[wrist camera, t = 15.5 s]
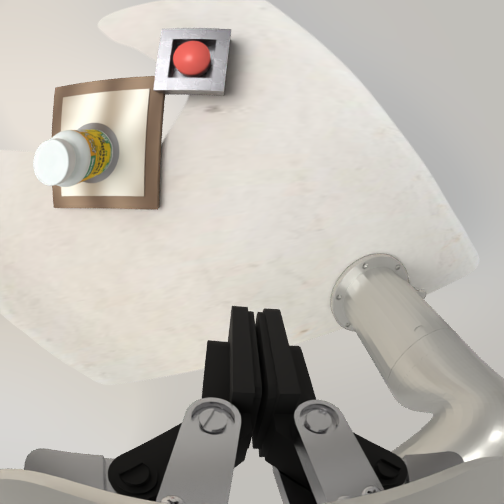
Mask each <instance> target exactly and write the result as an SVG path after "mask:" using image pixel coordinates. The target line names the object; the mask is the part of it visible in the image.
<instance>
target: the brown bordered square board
mask: <svg viewBox="0 0 504 504" xmlns="http://www.w3.org/2000/svg"><path fill="white" fill-rule="evenodd" d="M154 81H155V76H148V77H147V76H146V77H130V78H118V79H108V80H100V81H92V82H85V83H79V84H73V85H67V86H62V87H57V88H55V95H54V106H53V122H52V137H53V136H54V135H56V134H57V133H59V132H62V131H65V130H91V129H95V130H100V131H102V132H104V133H105V134H106V135H107V136H108V137H109V139H110V141H111V143H112V146H113V157H112V161H111V163H110V165H109V166H108V168H107V169H106V170H105V171H104V172H103V173H101V174H100V175H97V176H95V177H93V178H90V179H88V180H85V181H83V182H80V183H78V184H76V185H73V186H70V187H60V186H57V185H54V186H52V188H53V203H54V208H124V209H158V208H159V190H160V158H161V138H162V124H163V112H164V100H165V94H164V93H157V92H156V91H154Z"/></svg>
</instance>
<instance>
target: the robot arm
mask: <svg viewBox="0 0 504 504" xmlns="http://www.w3.org/2000/svg"><path fill="white" fill-rule="evenodd" d="M425 297H426V292H425V290H415V289H414V288H413V287H412V286H411V285H410V284H409V279H408V274H407V271H406V269H405V267H404V266H403V264H402V263H401V262H399V261H398V260H397V259H396V258H394V257H392V256H390V255H387V254H373V255H369V256H366V257H363V258H361V259H359V260H358V261H356V262H354V263H353V264H352V265H350V266H349V267H348V268H347V269H346V270H345V271H344V272H343V273H342V275H341V276H340V277H339V279H338V280H337V282H336V284H335V286H334V288H333V291H332V295H331V310H332V313H333V316H334V317H335V319H336V321H337V322H338V323H339V324H340V326H342V327H343V328H345V329H347V330H350V331H355V332H356V333H357V335H358V336H359V338H360V340H361V341H362V343H363V345H364V346H365V348H366V350H367V351H368V353H369V355H370V357H371V358H372V360H373V361H374V363H375V365H376V367H377V369H378V370H379V372H380V373H381V376H382V377H383V379H384V381H385V383H386V384H387V386H388V388H389V389H390V391H391V393H392V395H393V396H394V398H395V399H396V400H397V401H398V402H399V403H400V404H401V405H402V406H404V407H405V408H408V409H410V410H414V411H419V412H426V413H433V418H432V419H431V420H430V421H429V422H428V423H427V424H426V425H425V426H424V427H423V428H422V429H421V430H420V431H419V432H418V433H416V434H415V435H413V436H412V437H411V438H410V439H408V440H407V441H406V442H404V443H403V444H401V445H400V446H399V447H397V448H396V449H395V450H393V451H392V452H390V451H388V450H386V449H384V448H382V447H380V446H378V445H376V444H374V443H372V442H370V441H368V440H366V439H364V438H363V437H361V436H359V435H357V434H355V433H353V432H352V430H351V428H350V427H349V425H348V423H347V421H346V419H345V417H344V415H343V414H342V412H341V411H340V410H339V408H337V407H336V406H335V405H333V404H331V403H329V402H326V401H322V400H316V397H315V394H314V391H313V387H312V384H311V380H310V377H309V374H308V370H307V367H306V363H305V360H304V357H303V353H302V350H301V348H300V347H299V346H289V343H288V339H287V335H286V332H285V328H284V324H283V320H282V316H281V312H280V310H279V309H264V310H263V312H258V313H257V318H256V324H255V321H254V312H251V311H248V307H239V306H232V310H231V319H230V328H229V337H228V342H220V341H210V340H208V342H207V351H206V360H205V371H204V380H203V391H202V399H200V400H197V401H195V402H194V403H192V404H191V405H190V406H189V407H188V409H187V411H186V413H185V416H184V419H183V422H182V423H181V424H179V425H177V426H175V427H174V428H172V429H170V430H168V431H166V432H165V433H163V434H161V435H159V436H157V437H155V438H154V439H152V440H150V441H148V442H146V443H144V444H142V445H140V446H138V447H136V448H134V449H132V450H130V451H128V452H126V453H124V454H122V455H120V456H118V457H117V458H115V459H109V458H104V457H103V456H102V455H90V454H79V453H71V452H63V451H57V450H51V449H36V450H33V451H32V452H31V453H30V454H29V455H28V456H27V458H26V461H25V467H24V470H22V469H0V504H228V499H229V493H230V487H231V482H232V475H233V469H234V468H235V467H236V466H238V465H239V464H240V463H241V462H243V461H244V460H245V456H246V452H247V448H249V445H250V441H251V437H252V443H253V448H254V449H259V457H265V460H266V461H267V462H268V463H270V464H271V465H273V473H274V476H275V479H276V483H277V485H278V489H279V492H280V495H281V498H282V501H283V504H504V379H503V378H502V377H501V376H500V375H499V374H497V373H496V372H495V371H494V370H493V369H491V368H490V367H489V366H488V365H487V364H486V363H485V362H484V361H483V360H482V359H481V358H480V357H479V356H478V355H477V354H476V353H475V352H474V351H473V350H472V349H471V348H470V347H469V346H468V345H467V344H466V343H465V342H464V341H463V340H462V339H461V338H460V336H459V335H458V334H457V333H456V332H455V331H454V330H453V329H452V328H451V327H450V326H449V325H448V324H447V323H446V322H445V321H444V320H443V319H442V318H441V317H440V316H439V315H438V314H437V313H436V312H435V311H434V310H433V309H432V308H431V307H430V306H429V305H428V304H427V303H426V302H425V301H424V300H423V299H424V298H425Z"/></svg>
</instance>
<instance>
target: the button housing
mask: <svg viewBox="0 0 504 504" xmlns="http://www.w3.org/2000/svg"><path fill="white" fill-rule="evenodd" d="M230 37H231V29H212V28H172V29H162V32H161V38H160V44H159V51H158V58H157V65H156V73H155V81H154V91H156V92H157V93H164V94H190V95H218V96H224V90H225V81H226V72H227V63H228V54H229V46H230ZM188 41H199V42H201V43H203V44H205V45H206V46H207V48H208V49H209V52H210V57H211V65H210V68H209V69H208V71H207V72H206V73H205V74H203V75H201V76H199V77H195V78H189V77H186V76H184V75H182V74H181V73H180V72H179V71H178V69H177V68H176V66H175V65H174V62H173V55H174V52H175V50H176V49H177V48H178V47H179V46H180V45H181V44H183V43H185V42H188Z"/></svg>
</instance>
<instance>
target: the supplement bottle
mask: <svg viewBox="0 0 504 504" xmlns="http://www.w3.org/2000/svg"><path fill="white" fill-rule="evenodd" d="M112 157H113V146H112V143H111V141H110V139H109V137H108V136H107V135H106V134H105V133H104V132H102V131H100V130H95V129H91V130H65V131H62V132H59V133H57V134H56V135H54V136H53V137H52V138H51V139H50V140H47V141H45V142H43V143H42V144H41V145H40V146H39V147H38V149H37V151H36V153H35V156H34V162H33V166H34V172H35V174H36V176H37V178H38V179H39V181H40V182H41V183H43V184H45V185H48V186H54V185H57V186H60V187H70V186H73V185H76V184H78V183H80V182H83V181H85V180H88V179H90V178H93V177H95V176H97V175H100V174H101V173H103V172H104V171H105V170H106V169H107V168H108V166H109V165H110V163H111V161H112Z"/></svg>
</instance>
